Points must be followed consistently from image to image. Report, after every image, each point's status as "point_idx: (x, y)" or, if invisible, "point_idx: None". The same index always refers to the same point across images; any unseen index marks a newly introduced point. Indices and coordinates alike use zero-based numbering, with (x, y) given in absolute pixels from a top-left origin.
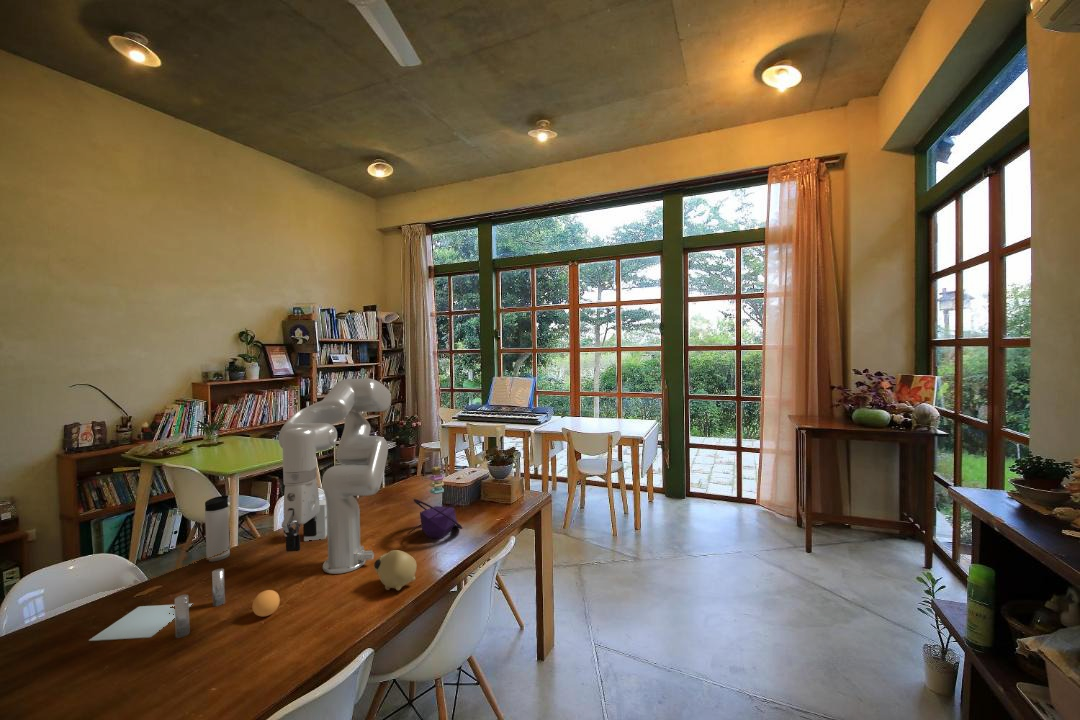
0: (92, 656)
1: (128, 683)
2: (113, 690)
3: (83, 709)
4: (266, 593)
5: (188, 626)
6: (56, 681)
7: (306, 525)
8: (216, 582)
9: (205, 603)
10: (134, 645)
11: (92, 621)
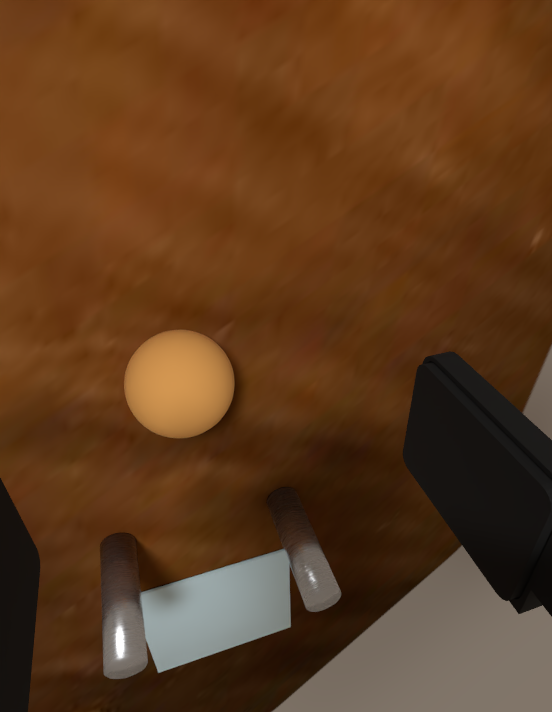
0: (343, 576)
1: None
2: None
3: None
4: (201, 405)
5: (287, 505)
6: (408, 555)
7: (8, 701)
8: (141, 617)
9: None
10: None
11: (219, 680)
